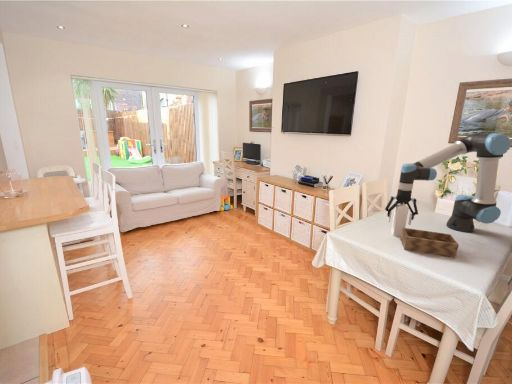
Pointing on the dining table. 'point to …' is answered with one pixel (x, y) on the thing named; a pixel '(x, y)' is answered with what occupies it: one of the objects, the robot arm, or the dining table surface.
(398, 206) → the milk
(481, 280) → the dining table surface
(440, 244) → the crate
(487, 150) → the robot arm
